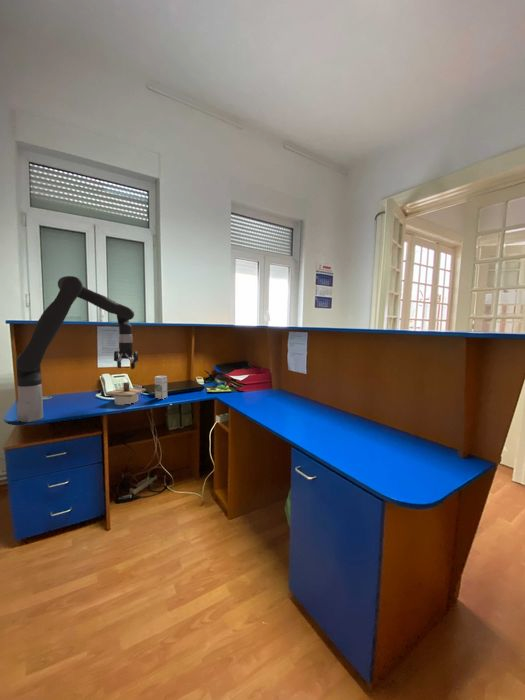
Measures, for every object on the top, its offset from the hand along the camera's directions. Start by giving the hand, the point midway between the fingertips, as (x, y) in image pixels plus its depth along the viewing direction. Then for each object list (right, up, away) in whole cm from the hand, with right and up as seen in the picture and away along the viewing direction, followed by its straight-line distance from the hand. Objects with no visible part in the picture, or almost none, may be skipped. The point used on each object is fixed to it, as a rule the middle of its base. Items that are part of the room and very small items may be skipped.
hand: (126, 368), depth 176 cm
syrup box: (+17, -20, +12) cm, 29 cm away
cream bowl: (0, -20, +2) cm, 21 cm away
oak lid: (0, -15, +1) cm, 15 cm away
